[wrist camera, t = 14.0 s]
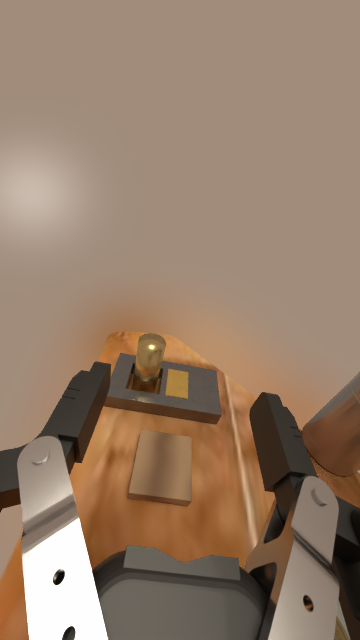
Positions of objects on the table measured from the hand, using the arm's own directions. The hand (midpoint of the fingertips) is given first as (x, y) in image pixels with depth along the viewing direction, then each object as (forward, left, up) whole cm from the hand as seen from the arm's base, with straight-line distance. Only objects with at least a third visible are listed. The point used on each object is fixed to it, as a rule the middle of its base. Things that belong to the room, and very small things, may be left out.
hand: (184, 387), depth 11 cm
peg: (+3, -19, -26) cm, 33 cm away
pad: (-2, -6, -26) cm, 27 cm away
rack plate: (-1, -19, -26) cm, 33 cm away
